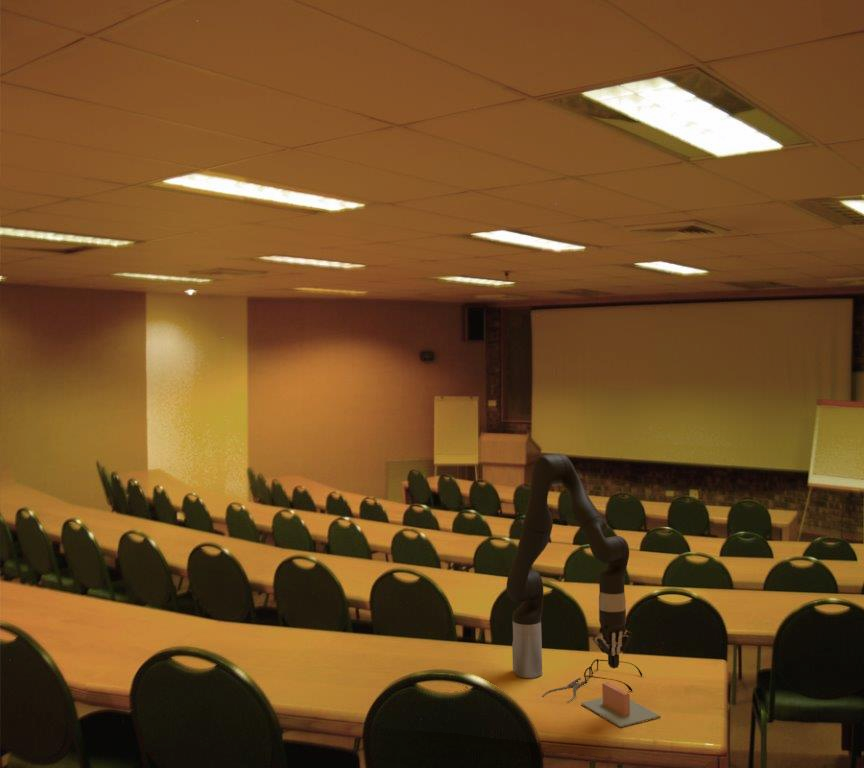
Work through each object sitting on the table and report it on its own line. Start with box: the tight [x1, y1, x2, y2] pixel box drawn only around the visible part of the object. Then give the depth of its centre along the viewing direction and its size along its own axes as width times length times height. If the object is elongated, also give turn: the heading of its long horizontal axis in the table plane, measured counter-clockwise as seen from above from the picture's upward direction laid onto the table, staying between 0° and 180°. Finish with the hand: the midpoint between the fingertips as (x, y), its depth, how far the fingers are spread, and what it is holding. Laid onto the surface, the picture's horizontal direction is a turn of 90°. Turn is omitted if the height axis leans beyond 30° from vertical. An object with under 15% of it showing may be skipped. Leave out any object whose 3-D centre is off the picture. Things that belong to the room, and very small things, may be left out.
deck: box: [601, 681, 631, 716], centre depth 232 cm, size 10×2×6 cm, turn 25°
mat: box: [580, 697, 661, 729], centre depth 232 cm, size 18×14×1 cm
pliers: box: [541, 677, 589, 703], centre depth 249 cm, size 10×1×20 cm
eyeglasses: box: [583, 658, 643, 692], centre depth 256 cm, size 16×16×4 cm
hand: (613, 667), depth 231 cm, fingers closed
